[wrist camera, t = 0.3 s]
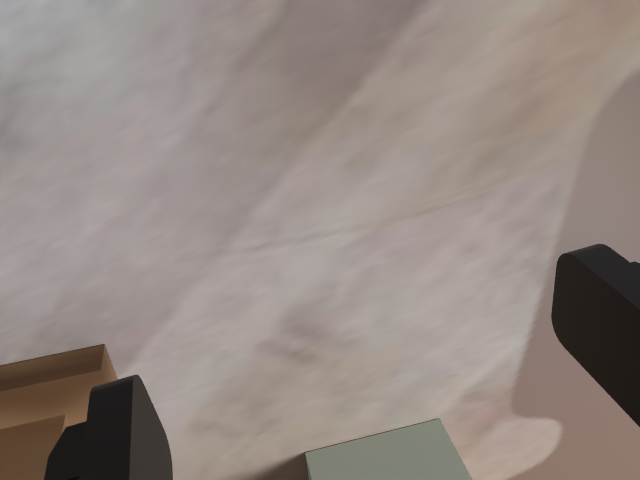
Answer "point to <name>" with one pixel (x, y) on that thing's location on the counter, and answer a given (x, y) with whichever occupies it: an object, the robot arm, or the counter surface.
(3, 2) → the counter surface
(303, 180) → the counter surface
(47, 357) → the tall column
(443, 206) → the counter surface
